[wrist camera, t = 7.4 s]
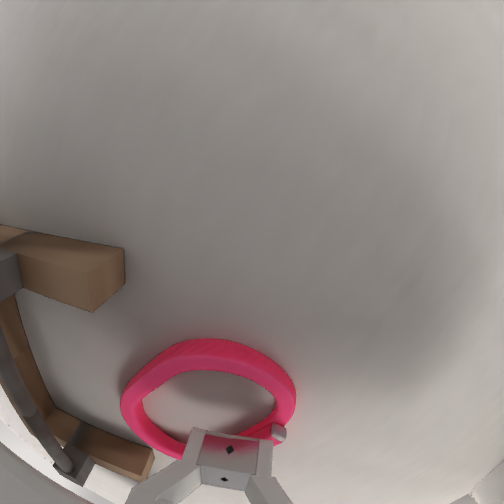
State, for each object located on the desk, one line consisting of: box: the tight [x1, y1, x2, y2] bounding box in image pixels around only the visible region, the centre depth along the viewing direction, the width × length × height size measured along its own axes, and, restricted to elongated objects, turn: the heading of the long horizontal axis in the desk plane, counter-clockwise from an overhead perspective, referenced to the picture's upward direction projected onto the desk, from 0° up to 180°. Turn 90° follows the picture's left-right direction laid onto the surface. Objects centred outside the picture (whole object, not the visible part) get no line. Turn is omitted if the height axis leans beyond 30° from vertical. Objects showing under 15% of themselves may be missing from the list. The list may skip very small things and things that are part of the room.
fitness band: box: [120, 339, 296, 460], centre depth 10 cm, size 8×6×2 cm
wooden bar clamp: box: [0, 225, 155, 487], centre depth 9 cm, size 8×13×4 cm, turn 173°
